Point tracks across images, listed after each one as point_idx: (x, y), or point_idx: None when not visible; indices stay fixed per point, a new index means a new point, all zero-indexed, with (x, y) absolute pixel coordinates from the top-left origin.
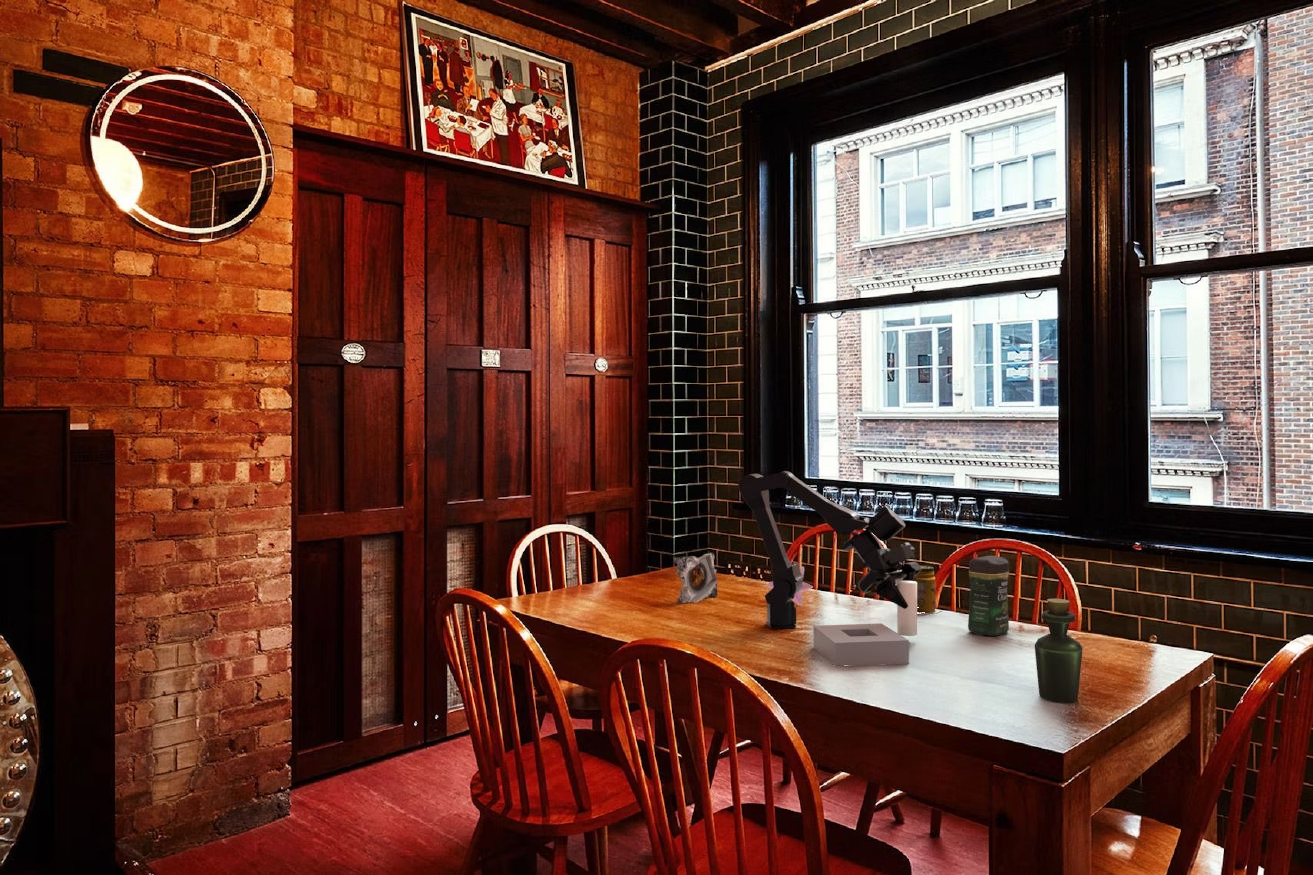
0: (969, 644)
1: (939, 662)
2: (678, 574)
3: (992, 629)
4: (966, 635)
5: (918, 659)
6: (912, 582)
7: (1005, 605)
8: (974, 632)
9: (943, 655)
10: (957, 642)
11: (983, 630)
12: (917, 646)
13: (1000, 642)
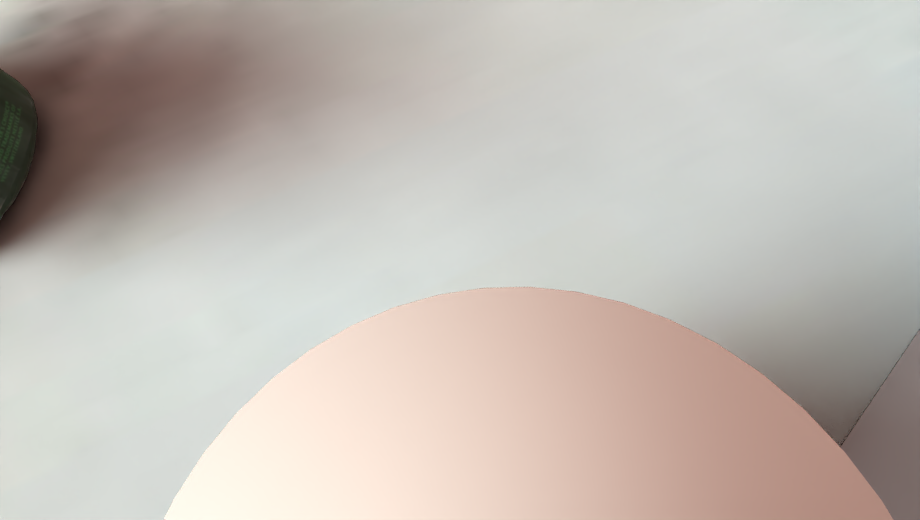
0: (298, 121)
1: (830, 62)
2: None
3: (1, 71)
4: (71, 233)
5: (877, 178)
6: (411, 492)
7: None
8: (14, 198)
9: (663, 115)
10: (292, 194)
11: (19, 123)
12: None
13: (148, 24)
